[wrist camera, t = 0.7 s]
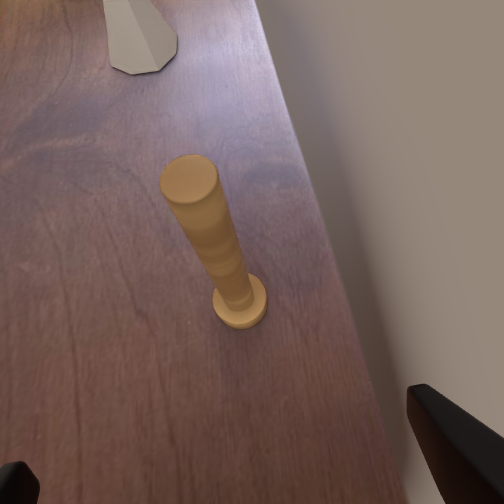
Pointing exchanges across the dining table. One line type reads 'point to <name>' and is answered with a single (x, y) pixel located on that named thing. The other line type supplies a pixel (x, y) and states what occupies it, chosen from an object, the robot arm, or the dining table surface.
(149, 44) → the flask
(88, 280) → the dining table surface
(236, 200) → the dining table surface
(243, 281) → the tan wooden rod
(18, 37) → the dining table surface
